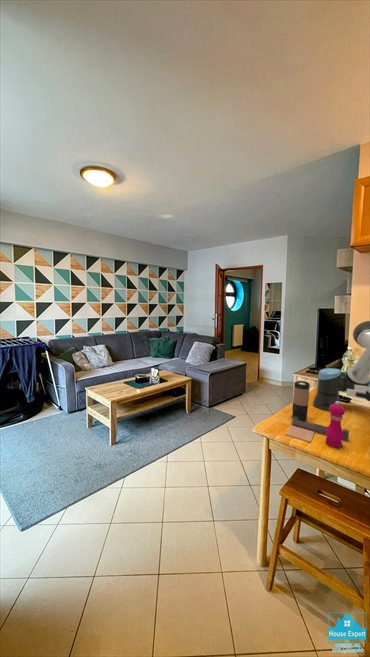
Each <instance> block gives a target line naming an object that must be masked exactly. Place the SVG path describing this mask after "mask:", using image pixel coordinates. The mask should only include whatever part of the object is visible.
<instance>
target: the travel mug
mask: <svg viewBox="0 0 370 657" xmlns="http://www.w3.org/2000/svg"><path fill="white" fill-rule="evenodd" d="M310 385H311V384H310V383H309V382H307V381H303V380H297V381H294V385H293V386H294V387H293V396H292V412H291V413H292V415H291V416H292V417H293V416H296V417H298V419H300V420H303V421H307V418H308V412H309V411H308V408H309V401H310V400H309V399H310Z"/></svg>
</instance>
